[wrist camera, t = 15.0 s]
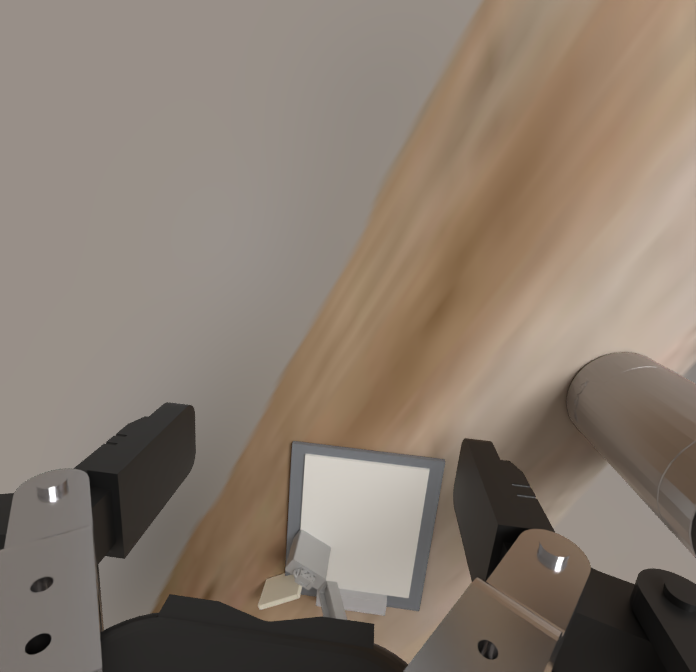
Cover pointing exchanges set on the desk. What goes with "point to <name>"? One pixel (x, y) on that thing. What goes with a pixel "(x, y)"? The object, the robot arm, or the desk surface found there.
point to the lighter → (315, 572)
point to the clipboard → (367, 520)
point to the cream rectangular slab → (279, 591)
